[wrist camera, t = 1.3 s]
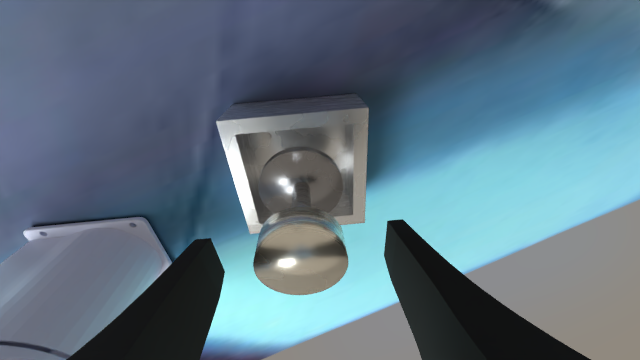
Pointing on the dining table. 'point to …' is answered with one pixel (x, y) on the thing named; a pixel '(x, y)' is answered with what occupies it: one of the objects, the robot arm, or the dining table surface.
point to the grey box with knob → (293, 131)
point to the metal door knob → (300, 223)
